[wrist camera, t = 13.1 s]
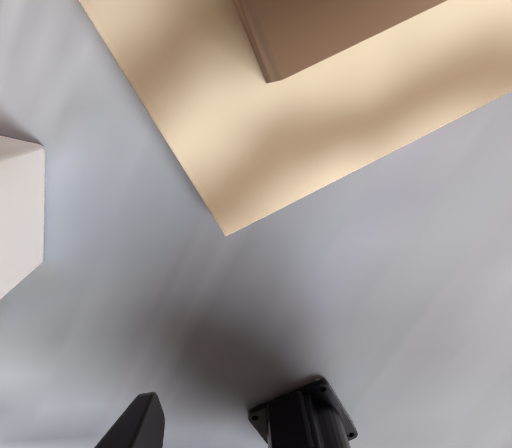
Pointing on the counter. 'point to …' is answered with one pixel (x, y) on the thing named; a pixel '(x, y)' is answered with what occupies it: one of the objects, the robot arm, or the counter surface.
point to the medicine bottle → (20, 210)
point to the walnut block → (316, 28)
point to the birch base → (298, 94)
